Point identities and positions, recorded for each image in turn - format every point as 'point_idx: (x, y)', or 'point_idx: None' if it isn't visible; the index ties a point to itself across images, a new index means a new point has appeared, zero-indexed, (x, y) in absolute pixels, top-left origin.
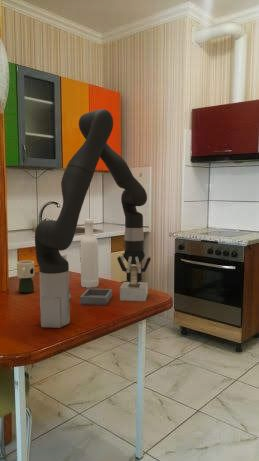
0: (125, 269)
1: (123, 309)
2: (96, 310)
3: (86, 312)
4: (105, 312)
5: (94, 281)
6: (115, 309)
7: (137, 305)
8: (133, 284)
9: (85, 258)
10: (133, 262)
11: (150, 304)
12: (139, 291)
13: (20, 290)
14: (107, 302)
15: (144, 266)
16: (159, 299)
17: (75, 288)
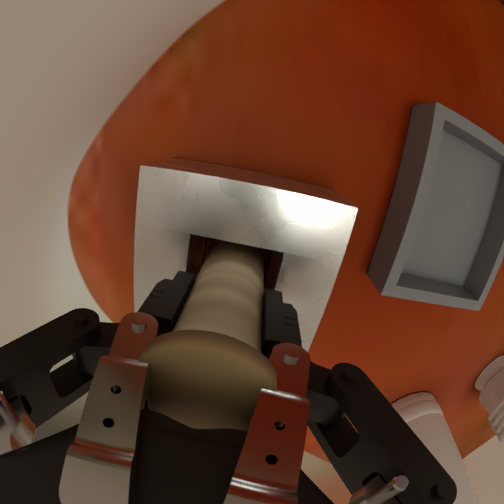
0: (320, 386)
1: (320, 22)
2: (448, 49)
3: (477, 43)
4: (408, 9)
5: (405, 416)
6: (364, 31)
7: (231, 78)
8: (235, 259)
9: (466, 485)
10: (194, 451)
11: (151, 99)
12: (195, 169)
13: None
14: (411, 131)
15: (52, 348)
16: (100, 196)
17: (458, 379)
